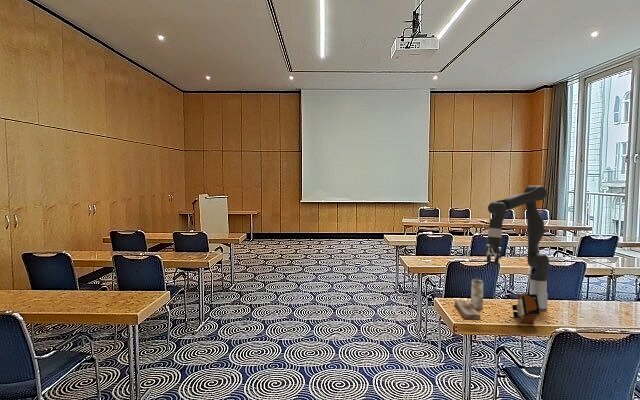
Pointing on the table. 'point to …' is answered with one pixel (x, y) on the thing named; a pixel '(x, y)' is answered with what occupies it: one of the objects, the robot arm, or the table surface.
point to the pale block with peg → (477, 294)
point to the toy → (527, 308)
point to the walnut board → (467, 310)
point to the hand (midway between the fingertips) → (492, 263)
